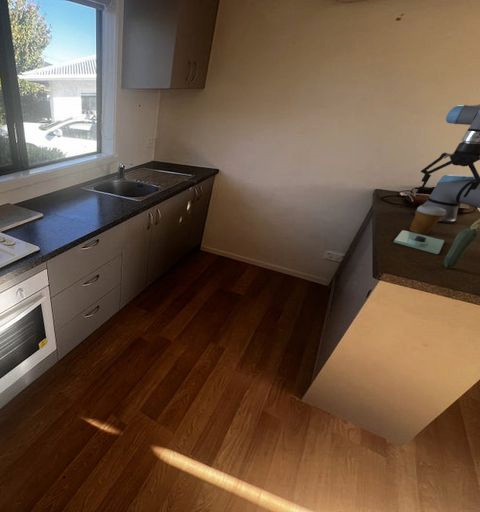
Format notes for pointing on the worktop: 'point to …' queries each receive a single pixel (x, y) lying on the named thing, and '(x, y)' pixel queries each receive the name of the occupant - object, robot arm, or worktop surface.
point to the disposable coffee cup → (426, 218)
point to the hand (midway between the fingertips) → (442, 192)
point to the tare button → (420, 239)
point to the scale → (409, 240)
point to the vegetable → (461, 244)
